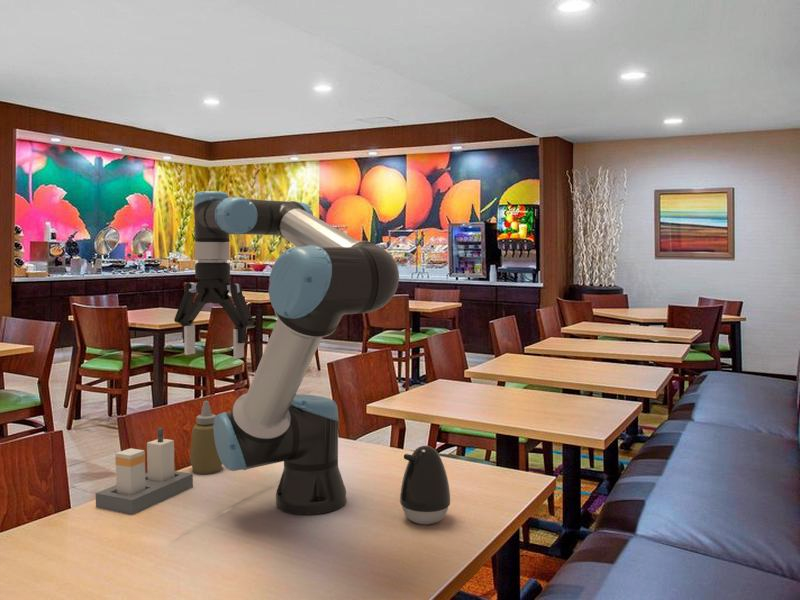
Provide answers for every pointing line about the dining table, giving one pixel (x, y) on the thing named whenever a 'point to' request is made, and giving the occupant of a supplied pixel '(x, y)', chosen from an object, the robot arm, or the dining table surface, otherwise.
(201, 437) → the squeeze bottle
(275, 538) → the dining table surface
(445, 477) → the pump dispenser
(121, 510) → the grey flat block
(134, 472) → the plug
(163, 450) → the twin plug
